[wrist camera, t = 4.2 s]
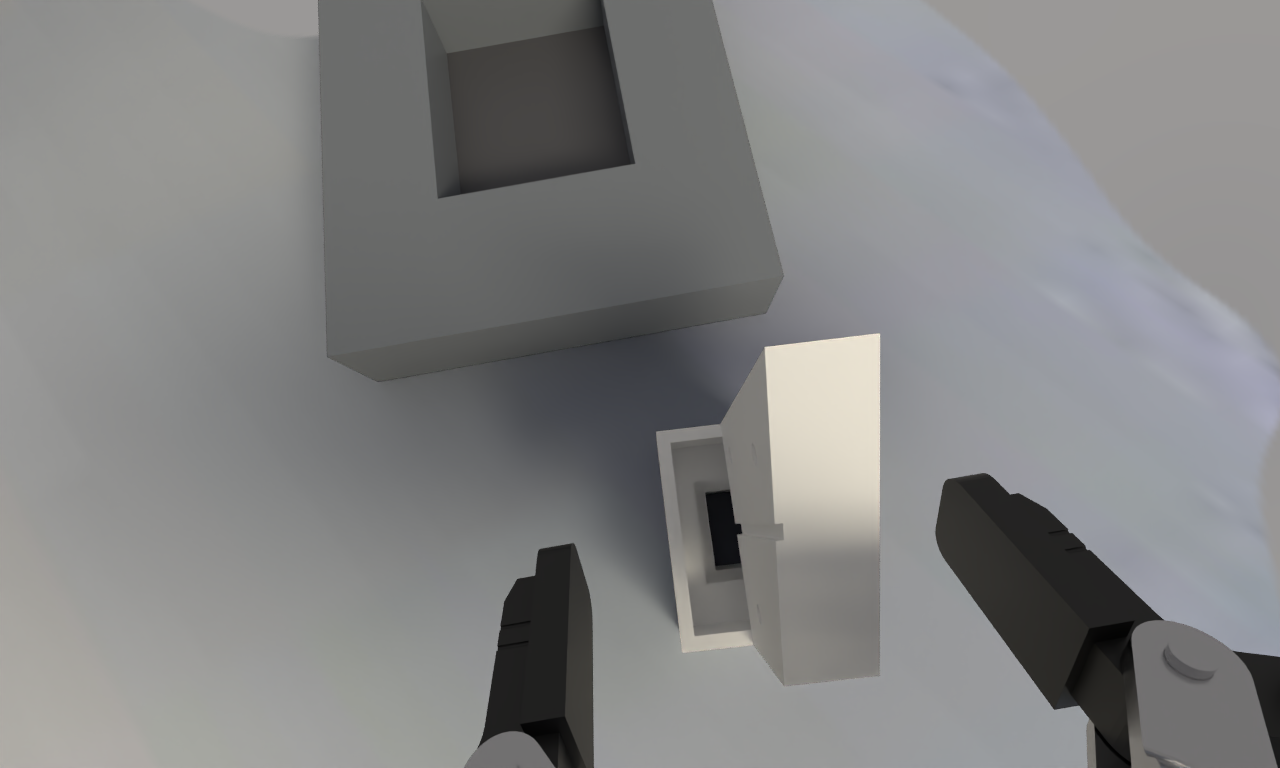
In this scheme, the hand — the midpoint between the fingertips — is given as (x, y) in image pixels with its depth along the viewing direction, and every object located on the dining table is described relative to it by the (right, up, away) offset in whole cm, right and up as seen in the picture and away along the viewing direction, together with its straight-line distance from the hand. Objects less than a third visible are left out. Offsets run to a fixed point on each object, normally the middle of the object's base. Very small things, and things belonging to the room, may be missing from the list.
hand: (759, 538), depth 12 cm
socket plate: (-7, +13, +10) cm, 18 cm away
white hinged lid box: (0, -1, +6) cm, 6 cm away
